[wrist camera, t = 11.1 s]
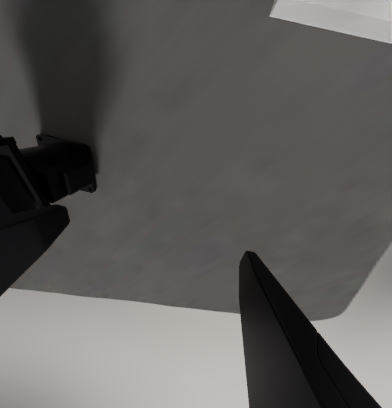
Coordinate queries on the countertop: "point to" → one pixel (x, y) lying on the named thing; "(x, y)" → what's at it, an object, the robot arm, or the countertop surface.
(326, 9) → the square tray
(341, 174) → the countertop surface
